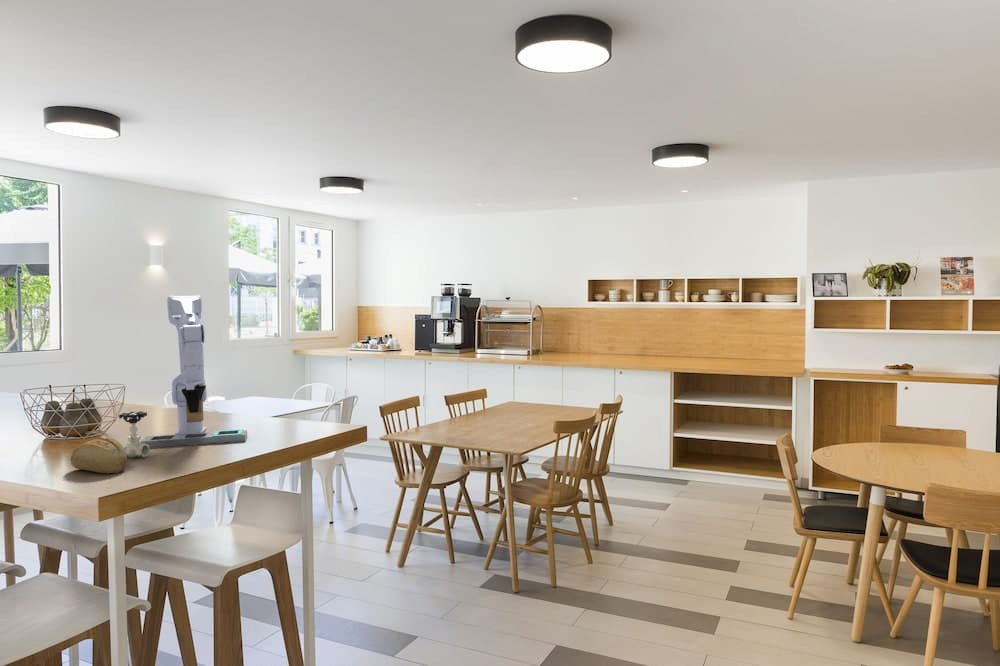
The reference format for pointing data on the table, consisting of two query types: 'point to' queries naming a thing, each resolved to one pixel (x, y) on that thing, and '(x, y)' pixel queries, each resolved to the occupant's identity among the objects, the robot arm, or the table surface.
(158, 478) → the table surface
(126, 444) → the valve
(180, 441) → the grey slotted board
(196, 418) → the walnut block
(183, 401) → the robot arm
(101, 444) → the bread roll
